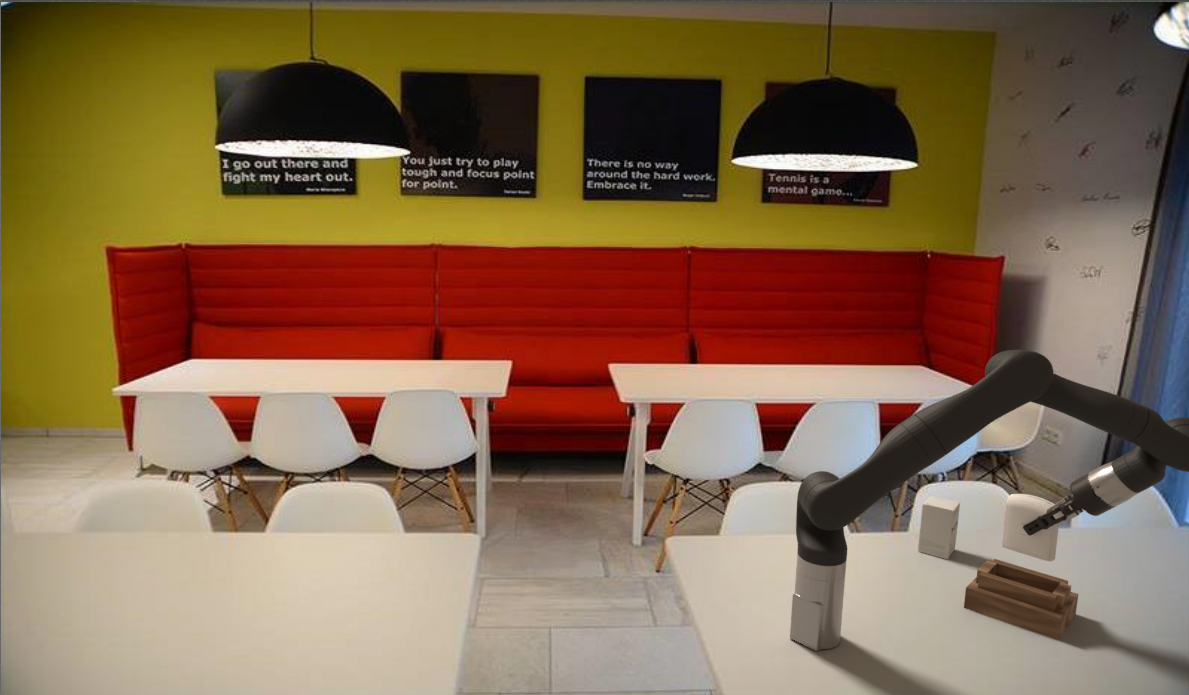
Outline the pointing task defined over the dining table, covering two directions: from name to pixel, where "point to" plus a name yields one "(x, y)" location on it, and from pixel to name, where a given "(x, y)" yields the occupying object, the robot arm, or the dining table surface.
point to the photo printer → (1021, 513)
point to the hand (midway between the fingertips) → (1030, 527)
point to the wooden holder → (1022, 598)
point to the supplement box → (938, 527)
